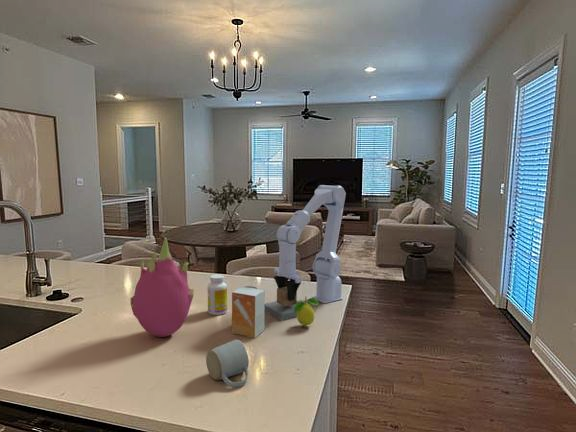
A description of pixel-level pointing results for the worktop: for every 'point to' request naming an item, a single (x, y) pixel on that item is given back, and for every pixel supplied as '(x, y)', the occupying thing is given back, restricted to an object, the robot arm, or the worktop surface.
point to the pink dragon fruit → (162, 295)
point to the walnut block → (284, 297)
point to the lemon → (305, 312)
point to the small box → (248, 311)
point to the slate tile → (281, 310)
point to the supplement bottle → (217, 295)
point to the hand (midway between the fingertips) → (287, 297)
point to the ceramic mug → (228, 362)
